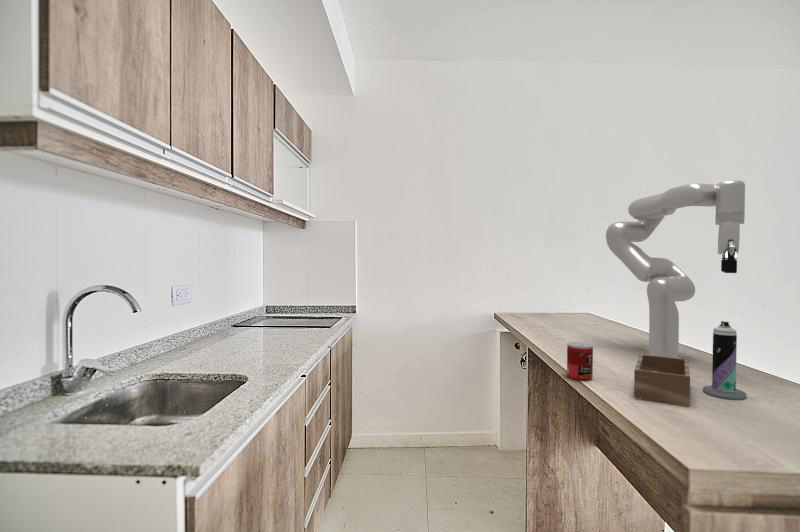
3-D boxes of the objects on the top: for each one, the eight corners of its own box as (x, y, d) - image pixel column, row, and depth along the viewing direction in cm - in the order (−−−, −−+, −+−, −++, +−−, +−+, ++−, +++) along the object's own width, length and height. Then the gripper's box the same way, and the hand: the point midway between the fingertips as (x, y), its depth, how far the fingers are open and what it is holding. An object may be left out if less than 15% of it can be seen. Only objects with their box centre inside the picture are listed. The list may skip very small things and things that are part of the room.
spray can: (713, 391, 124) (714, 322, 124) (710, 386, 129) (711, 319, 129) (737, 394, 122) (738, 323, 121) (733, 389, 127) (734, 320, 126)
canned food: (581, 382, 137) (582, 347, 137) (561, 376, 144) (561, 343, 144) (598, 379, 141) (598, 345, 140) (577, 373, 148) (578, 340, 148)
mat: (694, 389, 130) (694, 385, 130) (726, 388, 131) (726, 385, 131) (722, 400, 120) (722, 397, 120) (755, 399, 121) (755, 395, 121)
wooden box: (639, 378, 141) (639, 354, 141) (687, 385, 134) (688, 359, 134) (634, 398, 122) (634, 369, 122) (689, 406, 115) (690, 376, 115)
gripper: (713, 221, 150) (712, 271, 151) (717, 218, 136) (716, 273, 136) (740, 220, 146) (739, 271, 147) (748, 217, 132) (747, 273, 132)
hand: (728, 272), depth 141 cm, fingers open, 9 cm apart
